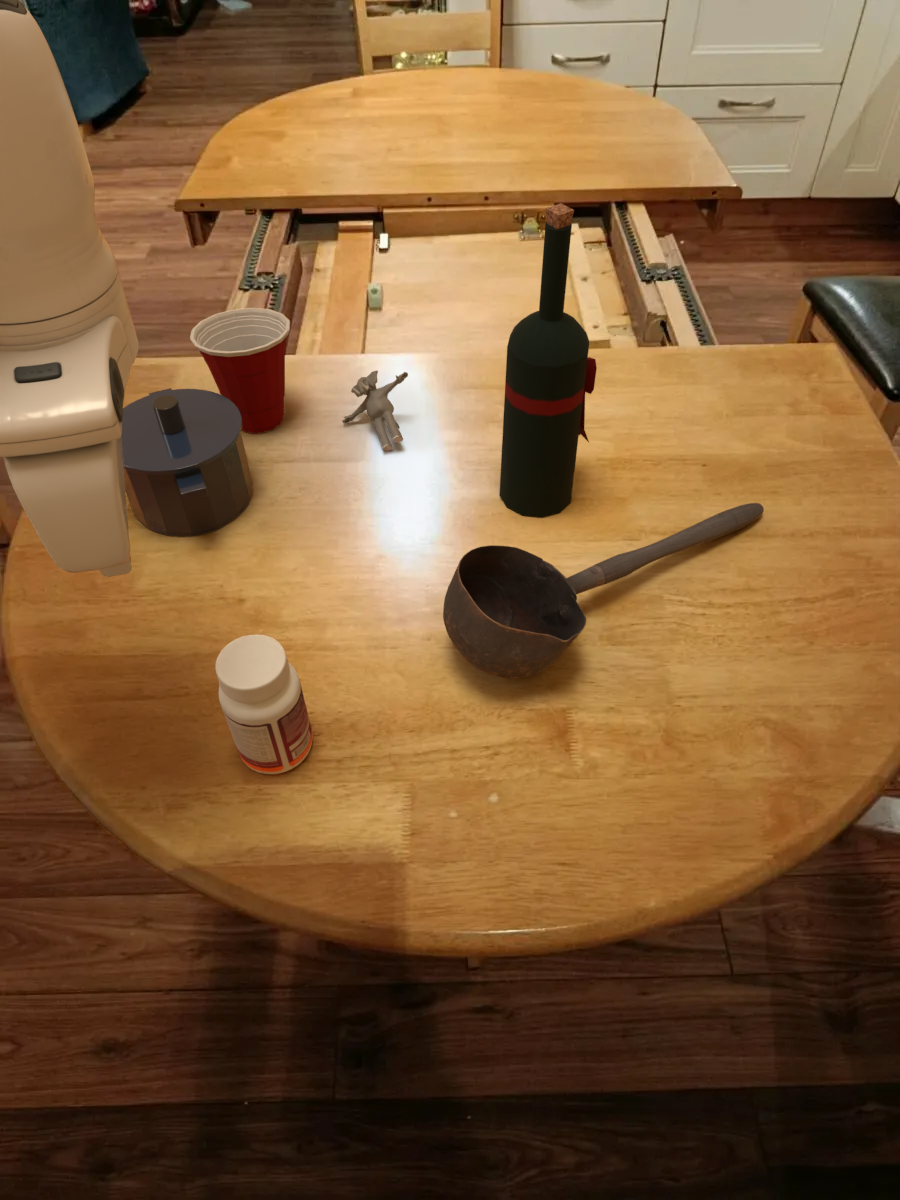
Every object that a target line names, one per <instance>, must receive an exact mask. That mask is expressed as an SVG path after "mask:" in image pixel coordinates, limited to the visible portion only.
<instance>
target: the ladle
mask: <svg viewBox="0 0 900 1200" xmlns="http://www.w3.org/2000/svg"><path fill="white" fill-rule="evenodd" d="M764 508H765V507H764V506H763V505H762V504H761V503H759V502H750V503H744V504H741V505H737V506H735V507H732V508H729V509H726V510H723V511H721V512H719V513H716V514H714V515H712V516H710V517H708V518H705V519H703V520H702V521H699V522H697V523H695V524H693V525H690V526H689V527H686V528H684V529H682V530H679V531H678V532H676V533H673V534H671V535H669V536H667V537H665V538H662V539H660V540H657V541H655V542H653V543H651V544H648V545H645V546H642V547H639V548H637V549H634V550H630V551H626V552H623V553H618V554H616V555H613V556H611V557H609V558H607V559H605V560H602V561H600V562H597V563H595V564H593V565H591V566H589V567H588V568H585V569H583V570H581V571H579V572H576V573H574V574H572V575H570V576H568V577H566V576H565V575H564V574H563V573H562V572H561V571H560V570H558V568H556V567H555V566H554V564H551V563H550V562H548V561H546V560H544V559H543V558H541V557H539V556H537V555H536V554H533V553H531V552H529V551H527V550H525V549H522V548H519V547H516V546H510V545H498V544H497V545H490V544H489V545H483V546H478V547H475V548H473V549H471V550H469V551H467V552H466V553H465V554H464V555H463V556H462V557H461V558H460V560H459V562H458V565H457V566H456V569H455V572H454V574H453V575H452V577H451V579H450V582H449V584H448V586H447V590H446V592H445V596H444V602H443V610H442V611H443V612H442V620H443V624H444V628H445V631H446V633H447V635H448V637H449V639H450V640H451V643H452V644H453V646H454V647H455V648H456V650H457V651H458V652H459V654H460V655H461V656H462V657H463V659H464V660H465V661H466V662H468V664H470V666H472V667H474V668H475V669H476V670H478V671H480V672H482V673H485V674H488V675H491V676H495V677H499V678H503V679H520V678H525V677H531V676H534V675H537V674H538V673H540V672H542V671H543V670H545V669H547V668H548V667H550V666H551V665H552V664H553V663H555V662H556V660H558V658H560V657H561V656H562V655H563V653H564V652H566V650H567V649H568V648H569V646H570V645H572V643H573V641H574V640H576V639H577V637H578V636H579V635H580V634H581V633H582V632H583V630H584V629H585V627H586V624H587V617H586V615H585V613H584V611H583V610H582V608H581V606H580V605H579V603H578V602H577V601H578V597H577V595H579V594H582V593H585V592H587V591H589V590H593V589H595V588H598V587H602V586H604V585H608V584H610V583H613V582H615V581H617V580H620V579H623V578H625V577H627V576H629V575H631V574H633V573H634V572H636V571H639V569H642V568H644V567H645V566H647V565H649V564H651V563H653V562H656V561H658V560H661V559H663V558H665V557H668V556H671V555H673V554H675V553H676V554H677V553H678V552H682V551H685V550H687V549H690V548H693V547H696V546H699V545H701V544H705V543H707V542H710V541H713V540H716V539H718V538H722V537H724V536H727V535H729V534H732V533H733V532H736V531H738V530H740V529H742V528H744V527H747V526H749V524H751V523H754V522H755V521H756V520H757V519H759V517H761V516H762V515H763V514H764V512H765V511H764Z"/></svg>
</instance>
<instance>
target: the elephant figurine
mask: <svg viewBox="0 0 900 1200" xmlns="http://www.w3.org/2000/svg"><path fill="white" fill-rule="evenodd" d="M378 372H379V371H378V370H373V371H371V372H370V373H369V374H368V375H367V376H361V377H360V378H358V379H357V383H356V384H355V385H354V386H352V388H351V390H350V392H351V393H353V394H354V395H355V396H356V398H360V397H362V396H365V398H364V400H363V401H362V402H361V403H360V405H359V406H358V407H357V408H356V409H355V410H354V411H353V412H352V413H351V414H349V415H345V416H343V418H344V419H343V420H341V423H343V424H348V423H350V422H353V421H354V420H355V419H356V418H357V417H358V416H359V415H361V414H364V413H365V412H366V415H367V417H368V418H369V419H370V421H371V422H372V423H374V428H375V431H376V433H377V435H378V438H379V441H380V444H381V448H382V450H383V451H384V452H390V451H392V450H393V449H394V446H393V444H392V442H391V440H390V437H389V434H388V432H387V430H386V426H387V428H388V431H389V433H390V436H391V438H392V441H393V442H394V443H401V442H403V440H404V437H403V434H402V432H401V431H400V425H399V423H398V422H397V420H396V419H395V417H394V414H393V413H394V411H395V407H394V405H393V404H392V402H391V400H389V398H388V396H389V394H390V393H391V392H392V390H394V388H395V387H396V386H397V385H400V384H402V383H403V382H404V381H405V380H406V379H407V378H408V377H409V373H408V372H407V371H403V372H402V373H401V374H399V375H395V380H394V381H393V382H390V383H387V384H385V385H383V386H381V387H378V388H377V383H378ZM384 421H385V423H384ZM385 424H386V426H385Z"/></svg>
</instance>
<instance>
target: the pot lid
mask: <svg viewBox="0 0 900 1200" xmlns="http://www.w3.org/2000/svg"><path fill="white" fill-rule="evenodd" d="M242 431H243V430H242V417H241V414H240V411H239V409H238V408H237V406H236V405H235V404H234V403H233V402H232V401H231V400H229V399H228V398H226V397H224V396H222V395H221V394H220V393H218V392H215V391H212V390H205V389H201V388H200V389H199V388H198V389H197V388H176V389H172V390H168V391H163V392H158V393H155V394H151V395H149V394H148V395H145V396H143V397H141V398H139V399H136V400H134V401H132V402H130V403H128V404H127V405H126V406H123V421H122V435H121V436H122V449H123V458H124V469H126V470H129V471H132V472H136V473H140V474H148V475H166V474H175V473H181V472H185V471H189V470H192V469H196V468H198V467H201V466H204V465H206V464H208V463H210V462H212V461H214V460H216V459H217V458H219V457H220V456H222V455H223V454H224V453H226V452H227V451H228V450H229V449H230V448H231V447H232V446H233V445H234V444H235V442H236V441H237V439H238V438H239V436H240V433H241V434H242Z"/></svg>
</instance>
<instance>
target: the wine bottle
mask: <svg viewBox="0 0 900 1200" xmlns="http://www.w3.org/2000/svg"><path fill="white" fill-rule="evenodd" d="M574 213H575V209H573V208H571V207H569V206H568V205H565V204H564V203H558V204H555V205H552V206H548V207H546V208H545V216H546V217H545V219H546V221H545V224H544V238H543V249H542V251H543V252H542V265H541V277H540V278H541V279H540V293H539V306H538V310H536V311H534V312H532V313H530V314H528V315H526V316H525V317H523V318H522V319H521V320H520V321H519V322H518V323H516V325H514V326H513V329H512V331H511V332H510V335H509V337H508V342H507V345H506V362H505V363H506V364H505V379H504V380H505V383H504V401H503V402H504V403H503V419H502V421H503V422H502V437H501V438H502V439H501V456H500V457H501V459H500V475H499V477H500V478H499V495H498V496H499V497H500V500H501V501H502V502H503V504H504V505H505V507H506V508H507V509H509V510H511V511H513V512H514V513H516V514H518V515H520V516H522V517H531V518H541V519H542V518H546V517H550V516H553V515H557V514H558V515H559V514H560V513H561V512H563V511H564V510H565V509H566V508H567V507H568V506H569V505H570V504H571V503H572V495H573V488H574V479H575V472H576V471H575V470H576V460H577V453H578V444H579V437H580V435H581V436H582V437H583V438H584V439H585V440H586V441H587V442H588V443H590V441H589V438H588V436H587V432H586V430H585V422H586V421H585V417H586V394H589V395H592V393H593V392H594V390H595V385H596V384H595V383H596V377H597V367H598V366H597V360H596V358H594V357H590V356H589V349H590V339H589V337H588V333H587V332H586V330H585V329H584V327H583V326H582V324H580V323H579V322H578V320H577V319H576V318H575V317H574V316H572V315H571V314H569V313H567V312H565V311H564V310H565V299H566V289H567V278H568V267H569V260H570V259H569V258H570V247H571V237H572V226H573V223H572V221H573V216H574Z"/></svg>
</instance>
